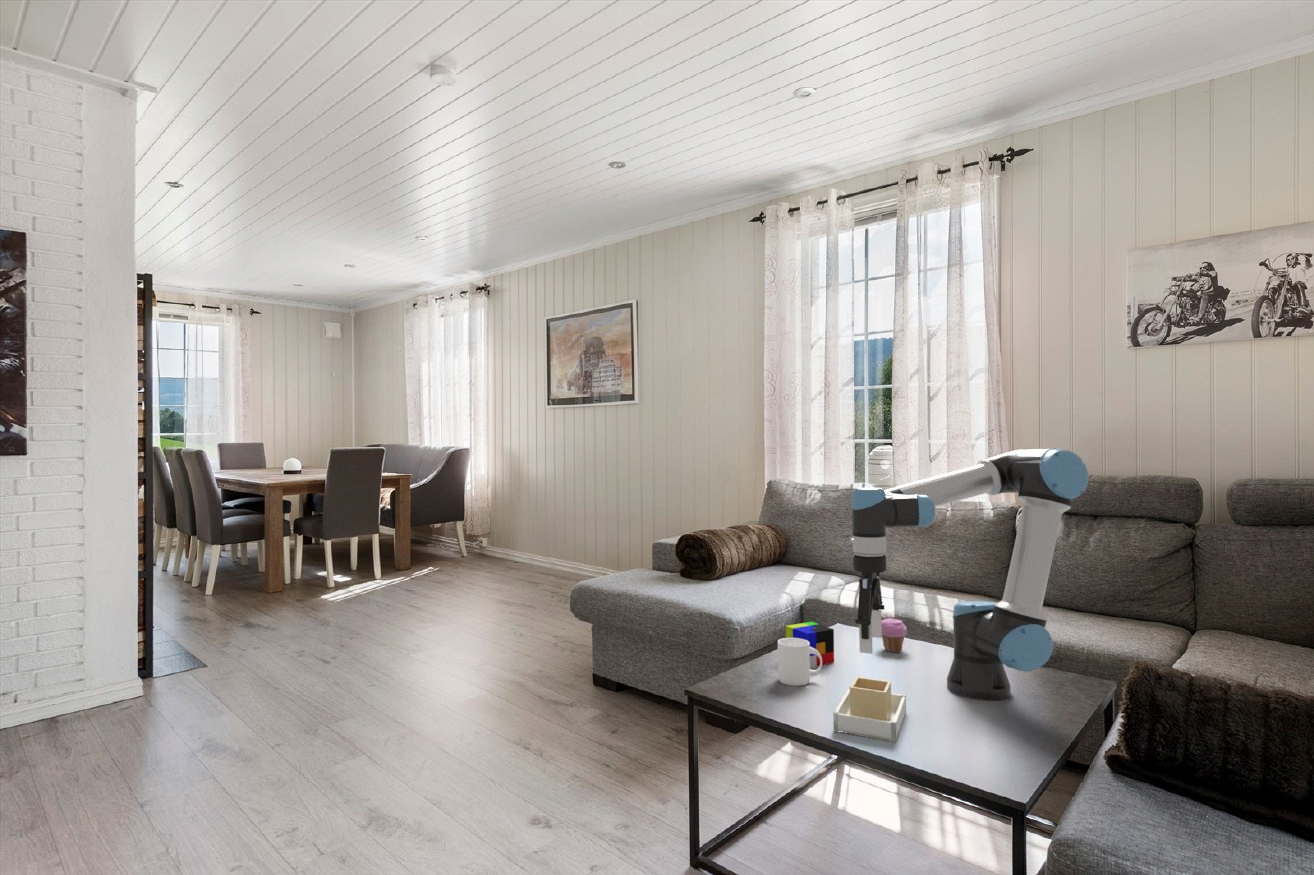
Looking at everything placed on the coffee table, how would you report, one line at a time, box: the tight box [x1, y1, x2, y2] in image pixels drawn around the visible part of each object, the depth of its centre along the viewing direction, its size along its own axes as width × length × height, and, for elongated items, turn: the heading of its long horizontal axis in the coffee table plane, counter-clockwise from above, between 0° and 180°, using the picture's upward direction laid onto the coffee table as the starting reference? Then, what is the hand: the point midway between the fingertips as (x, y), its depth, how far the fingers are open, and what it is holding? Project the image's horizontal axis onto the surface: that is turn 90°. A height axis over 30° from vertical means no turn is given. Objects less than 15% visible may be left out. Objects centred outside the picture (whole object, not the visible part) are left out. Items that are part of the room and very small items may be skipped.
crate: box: [833, 685, 907, 743], centre depth 161 cm, size 13×19×4 cm
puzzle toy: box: [785, 621, 835, 668], centre depth 206 cm, size 10×10×10 cm
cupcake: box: [881, 618, 908, 653], centre depth 216 cm, size 9×9×10 cm
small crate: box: [850, 676, 892, 721], centre depth 161 cm, size 8×8×8 cm
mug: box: [777, 637, 823, 687], centre depth 189 cm, size 9×12×11 cm
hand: (871, 644), depth 161 cm, fingers open, 13 cm apart
